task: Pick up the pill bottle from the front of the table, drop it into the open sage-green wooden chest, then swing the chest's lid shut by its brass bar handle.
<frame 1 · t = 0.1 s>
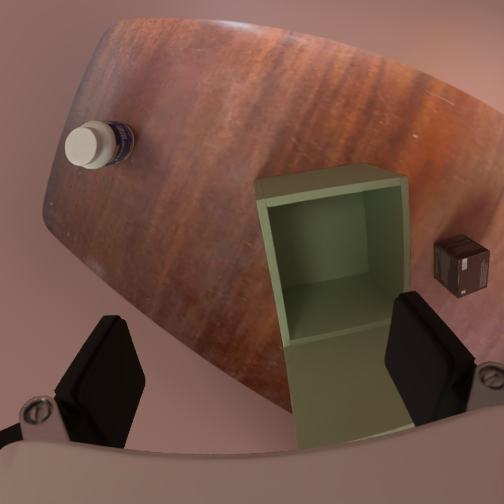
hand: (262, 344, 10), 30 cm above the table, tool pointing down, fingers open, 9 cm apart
lid: (374, 395, 23), point 21 cm above the table, hinge at 75.0°
pill bottle: (117, 142, 36), on the table
box: (447, 255, 42), on the table
chest: (318, 230, 41), on the table
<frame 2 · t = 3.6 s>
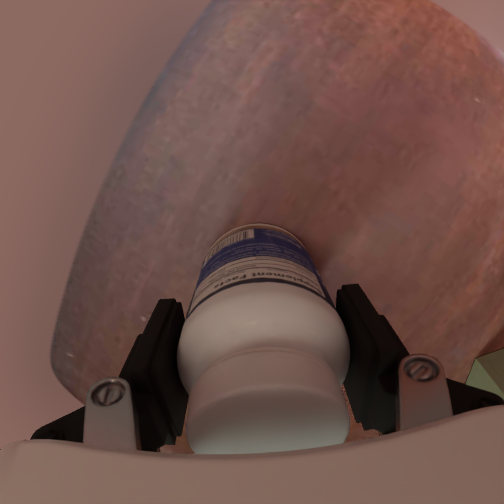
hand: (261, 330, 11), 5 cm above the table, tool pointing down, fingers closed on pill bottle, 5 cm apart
pill bottle: (257, 271, 16), on the table, touching gripper
chest: (499, 400, 21), on the table
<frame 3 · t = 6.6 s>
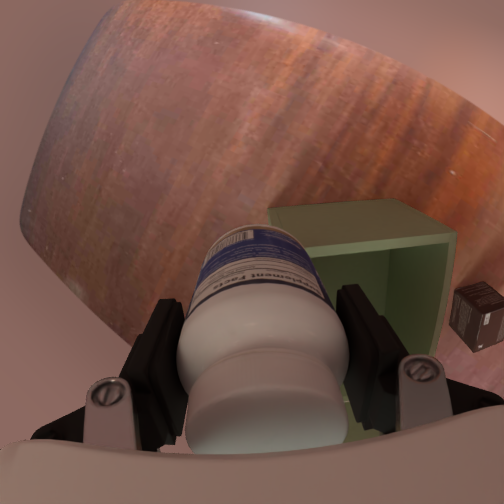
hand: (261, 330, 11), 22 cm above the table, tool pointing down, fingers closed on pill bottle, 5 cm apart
lid: (388, 476, 18), point 21 cm above the table, hinge at 75.0°
pill bottle: (257, 272, 16), point 17 cm above the table, touching gripper
box: (465, 302, 37), on the table
chest: (335, 270, 35), on the table
when the fingers open (14 cm above the table, at t = 9.8 s): pill bottle drops 9 cm, resting on chest.
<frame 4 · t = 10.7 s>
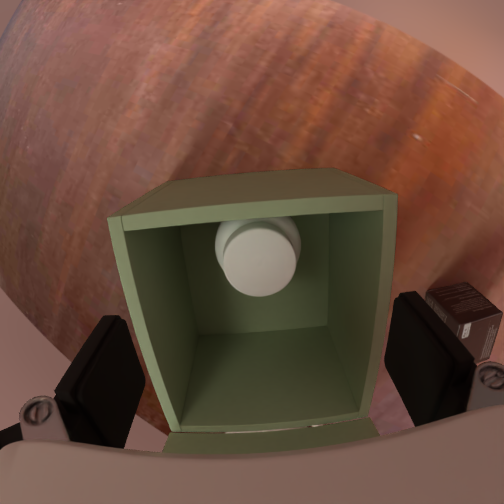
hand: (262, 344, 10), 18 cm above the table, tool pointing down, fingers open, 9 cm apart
pill bottle: (255, 219, 26), point 1 cm above the table, touching chest
box: (442, 307, 31), on the table
chest: (257, 260, 28), on the table
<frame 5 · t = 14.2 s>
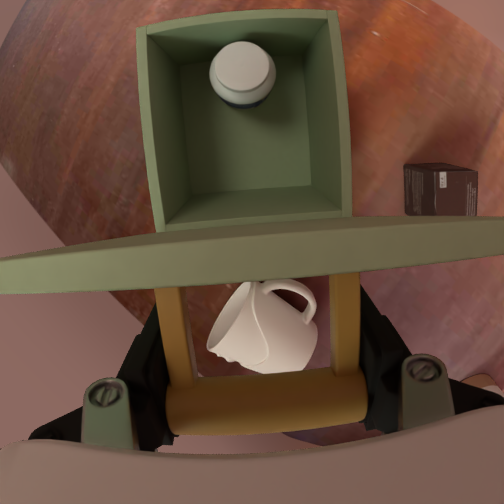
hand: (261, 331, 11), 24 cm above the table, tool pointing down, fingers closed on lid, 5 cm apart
lid: (259, 292, 14), point 21 cm above the table, hinge at 75.0°, touching gripper
pill bottle: (243, 85, 29), point 1 cm above the table, touching chest
box: (423, 186, 33), on the table
mug: (267, 307, 39), on the table
bowl: (459, 404, 48), on the table
chest: (245, 122, 31), on the table
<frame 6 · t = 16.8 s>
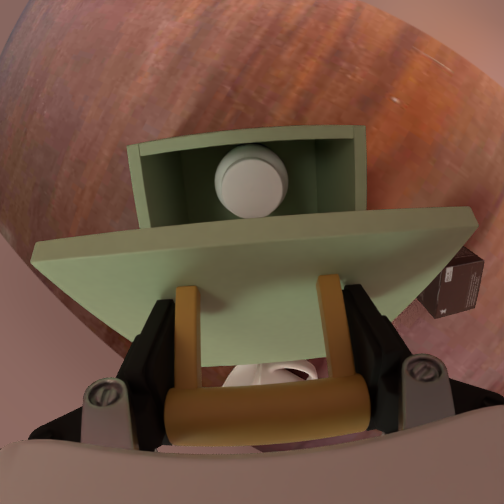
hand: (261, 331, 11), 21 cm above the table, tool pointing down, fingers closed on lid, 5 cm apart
lid: (265, 375, 14), point 20 cm above the table, hinge at 36.9°, touching gripper
pill bottle: (250, 169, 29), point 1 cm above the table, touching chest
box: (428, 260, 34), on the table
mug: (271, 370, 40), on the table
chest: (252, 207, 31), on the table
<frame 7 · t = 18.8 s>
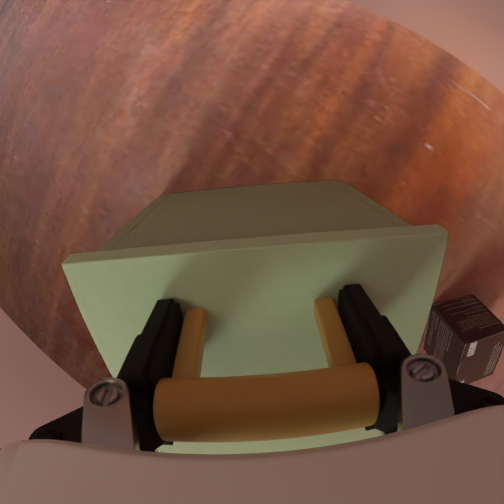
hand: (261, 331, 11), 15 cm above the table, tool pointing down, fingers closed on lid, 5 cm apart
lid: (270, 439, 12), point 16 cm above the table, hinge at 6.1°, touching gripper
box: (447, 320, 30), on the table
chest: (258, 277, 27), on the table
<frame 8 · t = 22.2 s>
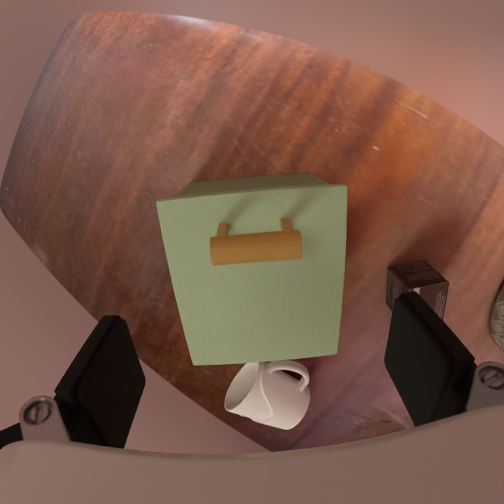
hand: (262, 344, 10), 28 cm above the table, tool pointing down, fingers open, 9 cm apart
lid: (260, 305, 24), point 16 cm above the table, hinge at 4.4°
box: (403, 280, 41), on the table
mug: (271, 372, 47), on the table
chest: (255, 240, 39), on the table
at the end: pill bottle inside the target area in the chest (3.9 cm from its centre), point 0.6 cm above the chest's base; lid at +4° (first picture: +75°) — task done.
